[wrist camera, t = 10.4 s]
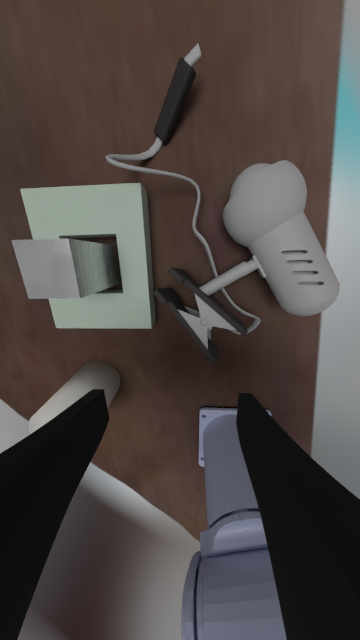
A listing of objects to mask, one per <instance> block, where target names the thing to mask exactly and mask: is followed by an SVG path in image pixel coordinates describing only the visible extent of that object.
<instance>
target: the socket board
mask: <svg viewBox="0 0 360 640" xmlns="http://www.w3.org/2000/svg"><path fill="white" fill-rule="evenodd" d="M20 190H21V194H22V198H23V202H24V206H25V209H26V213H27V217H28V221H29V225H30V229H31V233H32V236H33V240H34V239H75V238H95V237H117V246H118V254H119V262H120V270H121V278H122V286H123V289H122V290H101V291H99V292H96V293H93V294H91V295H88V296H85V297H83V298H49V302H50V306H51V310H52V313H53V317H54V321H55V325H56V328H145V329H152V327H153V325H154V324H155V322H156V316H155V301H154V293H153V292H154V286H153V272H152V257H151V242H150V227H149V213H148V198H147V191H146V190H145V189H144V187H143V186H142V184H141V183H127V184H107V185H87V186H67V187H48V188H28V189H20Z"/></svg>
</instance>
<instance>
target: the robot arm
mask: <svg viewBox="0 0 360 640" xmlns="http://www.w3.org/2000/svg"><path fill="white" fill-rule="evenodd" d="M203 415H205V416H203ZM108 421H109V414H108V409H107V403H106V398H105V393H104V389H92V390H91V391H89V392H88V393H87V394H85V395H84V396H83V397H81V398H80V399H79V400H77V401H76V402H75V403H73V404H72V405H71V406H69V407H68V408H67V409H65V410H64V411H63V412H61V413H60V414H59V415H57V416H56V417H55V418H53V419H52V420H50V421H49V422H47V423H46V424H45V425H43V426H42V427H40V428H39V429H37V430H36V431H35V432H33V433H32V434H30V435H29V436H27V437H26V438H24V439H23V440H21V441H20V442H18V443H17V444H15V445H14V446H12V447H10V448H9V449H7V450H5V451H4V452H2V453H1V454H0V640H17V638H18V636H19V633H20V630H21V627H22V624H23V621H24V619H25V616H26V613H27V610H28V607H29V605H30V602H31V599H32V597H33V594H34V592H35V589H36V586H37V583H38V581H39V578H40V576H41V573H42V570H43V567H44V565H45V563H46V560H47V557H48V555H49V552H50V550H51V547H52V545H53V542H54V540H55V537H56V535H57V532H58V530H59V528H60V525H61V523H62V520H63V518H64V516H65V513H66V511H67V508H68V506H69V504H70V501H71V499H72V497H73V495H74V493H75V491H76V489H77V487H78V485H79V483H80V481H81V479H82V477H83V475H84V473H85V471H86V469H87V467H88V465H89V463H90V461H91V459H92V458H93V456H94V454H95V452H96V450H97V448H98V446H99V444H100V442H101V439H102V437H103V435H104V432H105V429H106V427H107V424H108ZM199 465H200V466H202V467H204V469H205V486H206V504H207V522H208V530H206V531H202V532H201V533H200V540H201V551H198V552H196V553H195V554H194V556H193V557H192V560H191V562H190V565H189V569H188V572H187V575H186V579H185V584H184V591H183V599H182V619H181V620H182V621H181V622H182V623H181V629H182V632H181V634H182V640H360V499H358V498H357V497H356V496H354V495H353V494H352V493H351V492H350V491H348V490H347V489H346V488H345V487H344V486H342V485H341V484H340V483H339V482H338V481H337V480H335V479H334V478H333V477H332V476H331V475H330V474H329V473H327V472H326V471H325V470H324V469H323V468H322V467H321V466H320V465H318V464H317V463H316V462H315V461H314V460H313V459H312V458H311V457H310V456H309V455H308V454H307V453H306V452H305V451H304V450H303V449H302V448H301V447H300V446H299V445H298V444H297V443H296V442H295V441H294V440H293V439H292V438H291V437H290V436H289V435H288V434H287V433H286V432H285V431H284V430H283V429H282V428H281V427H280V426H279V424H278V423H277V422H276V421H275V420H274V419H273V418H272V417H271V413H270V411H269V410H265V409H264V408H263V406H262V405H261V404H260V403H259V402H258V401H257V399H256V398H255V397H254V396H253V395H252V394H251V393H239V399H238V409H233V408H201V409H200V415H199Z"/></svg>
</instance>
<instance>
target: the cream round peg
mask: <svg viewBox="0 0 360 640" xmlns="http://www.w3.org/2000/svg"><path fill="white" fill-rule="evenodd" d="M120 384H121V379H120V375H119V373H118V372H117V370H116V369H115V368H114V367H113V366H111V365H110V364H108V363H106V362H103V361H90V362H88V363H86V364H85V365H83V366H82V367H81V368H80V369H79V370H78V371H77V372H76V373H75V374H74V375H73V376H72V377H71V378H70V379H69V380H68V381H67V382H66V383H65V384H64V385H63V386H62V387H61V388H60V389H59V390H58V391H57V392H56V393H55V394H54V395H53V396H52V397H51V398H50V399H49V400H48V401H47V402H46V403H45V404H44V405H43V406H42V407H41V408H40V409H39V410H38V411H37V412H36V413H35V414H34V415H33V416H32V417H31V419H30V421H29V432H30V434H32V433H33V432H35V431H36V430H37V429H39V428H40V427H42V426H43V425H45V424H46V423H47V422H49V421H50V420H52V419H53V418H55V417H56V416H57V415H59V414H60V413H61V412H63V411H64V410H65V409H67V408H68V407H69V406H71V405H72V404H73V403H75V402H76V401H77V400H79V399H80V398H81V397H83V396H84V395H85V394H87V393H88V392H89V391H91V390H92V389H104V393H105V398H106V403H107V409H108V407H109V405H110V403H111V401H112V400H113V398H114V396H115V394H116V392H117V391H118V389H119V387H120Z"/></svg>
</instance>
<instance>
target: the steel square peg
mask: <svg viewBox="0 0 360 640" xmlns="http://www.w3.org/2000/svg"><path fill="white" fill-rule="evenodd" d="M12 243H13V247H14V250H15V254H16V257H17V260H18V264H19V267H20V271H21V274H22V277H23V281H24V284H25V288H26V291H27V294H28V298H29V299H41V298H83V297H85V296H88V295H91V294H93V293H96V292H99V291H101V290H104V289H107V288H110V287H112V286H115V285H118V284H120V283H122V278H121V270H120V262H119V254H118V246H116V245H109V244H102V243H95V242H89V241H82V240H75V239H34V240H12Z"/></svg>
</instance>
